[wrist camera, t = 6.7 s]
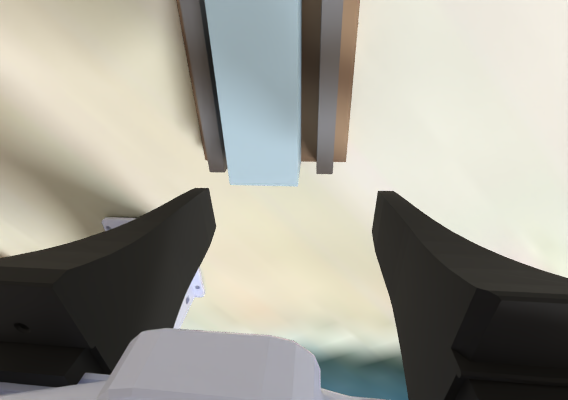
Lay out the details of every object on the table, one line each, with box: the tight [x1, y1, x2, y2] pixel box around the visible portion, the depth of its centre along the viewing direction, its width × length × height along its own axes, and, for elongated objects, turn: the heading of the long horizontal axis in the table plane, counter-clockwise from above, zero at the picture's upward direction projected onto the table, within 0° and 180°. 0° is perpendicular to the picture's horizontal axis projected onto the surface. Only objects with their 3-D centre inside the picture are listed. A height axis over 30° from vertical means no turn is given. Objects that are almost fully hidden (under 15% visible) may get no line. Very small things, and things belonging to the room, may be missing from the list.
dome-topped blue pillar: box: [205, 0, 302, 186], centre depth 15 cm, size 12×4×4 cm, turn 2°
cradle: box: [176, 0, 360, 174], centre depth 17 cm, size 12×10×3 cm
